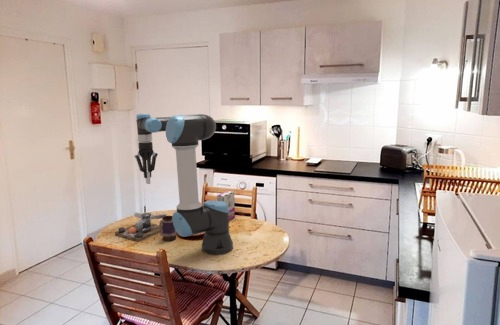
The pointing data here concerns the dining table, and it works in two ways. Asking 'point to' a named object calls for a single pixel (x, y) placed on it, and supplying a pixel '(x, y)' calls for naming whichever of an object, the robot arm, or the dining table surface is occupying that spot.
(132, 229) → the ball
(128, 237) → the walnut stand
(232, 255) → the dining table surface
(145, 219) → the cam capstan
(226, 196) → the candy bar box
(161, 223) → the mug
